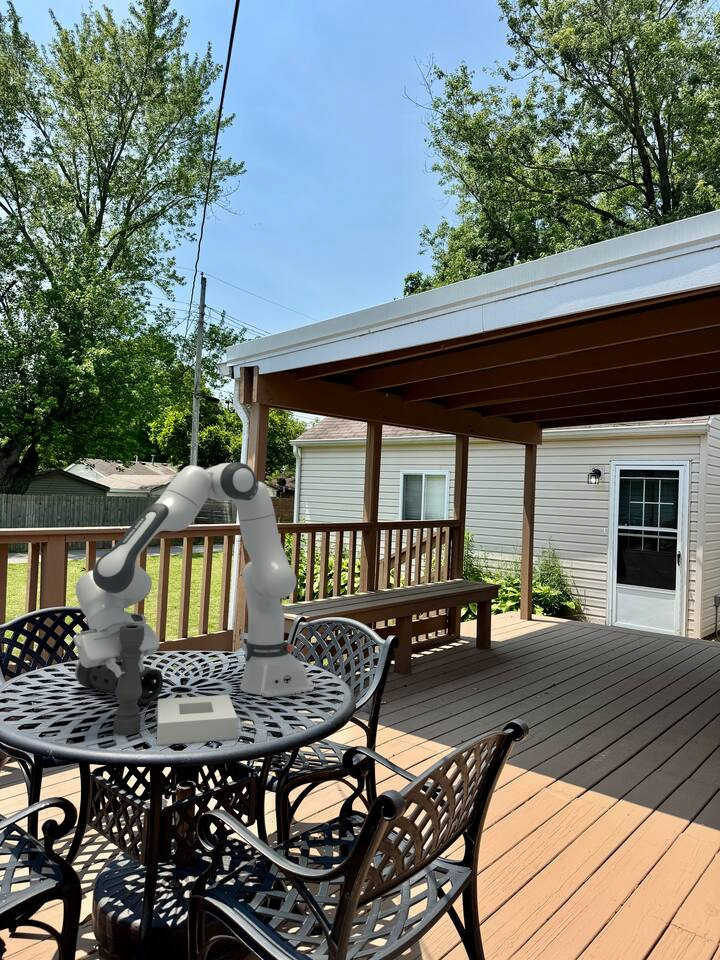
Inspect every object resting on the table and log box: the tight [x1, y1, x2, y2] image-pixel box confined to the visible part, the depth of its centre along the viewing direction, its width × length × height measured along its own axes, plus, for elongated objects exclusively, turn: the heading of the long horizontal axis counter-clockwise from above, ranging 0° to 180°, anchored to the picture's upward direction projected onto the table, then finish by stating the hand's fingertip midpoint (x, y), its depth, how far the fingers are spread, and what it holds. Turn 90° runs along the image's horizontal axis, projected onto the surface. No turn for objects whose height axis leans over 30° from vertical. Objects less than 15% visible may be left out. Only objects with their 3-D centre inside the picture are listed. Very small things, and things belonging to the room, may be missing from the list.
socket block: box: [156, 694, 238, 746], centre depth 152 cm, size 18×18×5 cm
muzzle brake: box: [74, 660, 164, 706], centre depth 175 cm, size 10×28×10 cm, turn 58°
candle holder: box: [112, 625, 144, 736], centre depth 150 cm, size 6×6×25 cm
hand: (131, 673), depth 149 cm, fingers closed on candle holder, 4 cm apart
